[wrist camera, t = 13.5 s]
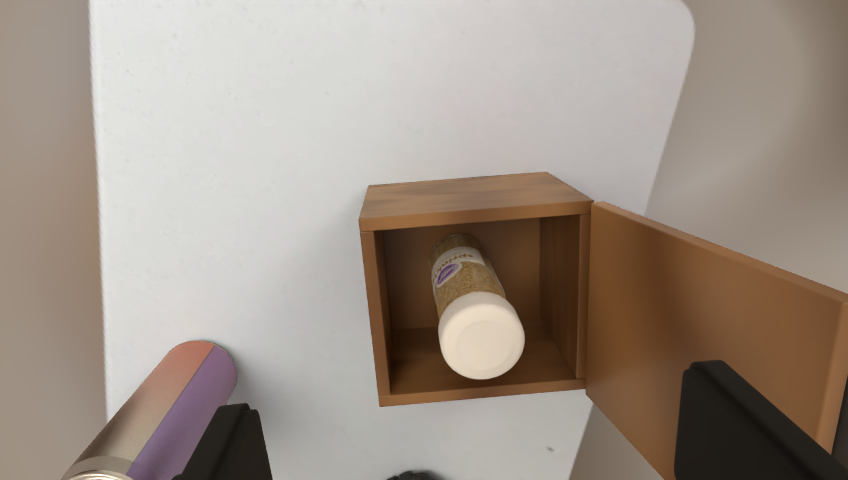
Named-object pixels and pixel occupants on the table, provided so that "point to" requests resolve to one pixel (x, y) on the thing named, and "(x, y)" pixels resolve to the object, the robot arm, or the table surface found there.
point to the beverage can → (161, 418)
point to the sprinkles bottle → (473, 310)
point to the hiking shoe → (413, 477)
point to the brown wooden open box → (512, 263)
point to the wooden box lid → (706, 333)
